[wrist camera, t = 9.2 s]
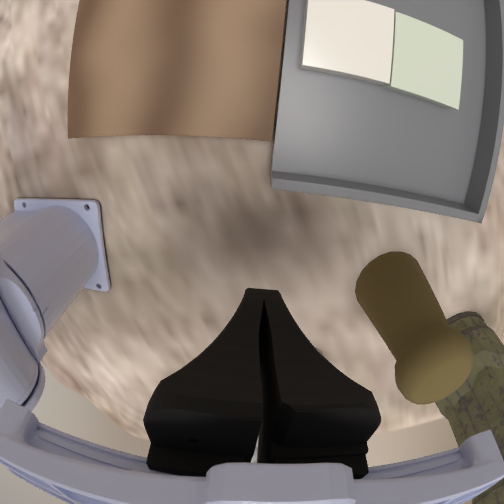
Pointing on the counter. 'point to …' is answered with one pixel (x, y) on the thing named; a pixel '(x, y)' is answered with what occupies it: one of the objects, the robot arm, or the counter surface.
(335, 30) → the tile
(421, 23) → the tile
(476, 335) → the thermos
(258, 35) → the walnut plate
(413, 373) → the cork
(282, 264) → the counter surface
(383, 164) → the box
